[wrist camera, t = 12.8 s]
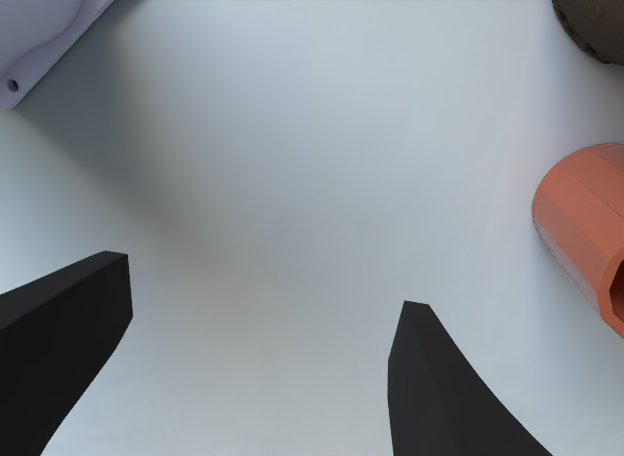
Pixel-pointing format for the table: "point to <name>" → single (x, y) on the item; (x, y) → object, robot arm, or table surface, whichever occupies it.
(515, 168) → the table surface
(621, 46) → the pillar candle
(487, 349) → the table surface
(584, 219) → the terracotta pipe segment
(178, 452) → the table surface
